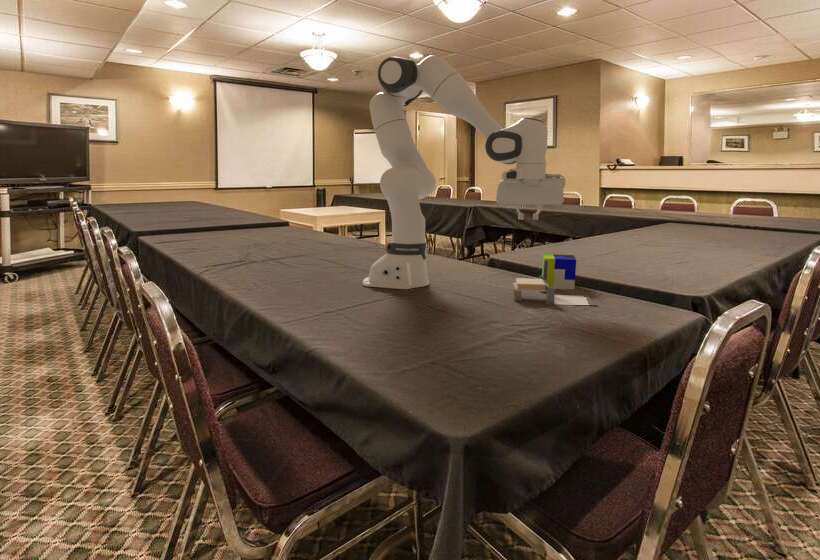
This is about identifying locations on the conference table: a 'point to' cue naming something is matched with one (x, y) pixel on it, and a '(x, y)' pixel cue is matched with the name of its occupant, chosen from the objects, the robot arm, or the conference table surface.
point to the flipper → (543, 279)
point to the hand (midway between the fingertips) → (528, 219)
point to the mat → (570, 300)
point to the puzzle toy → (560, 271)
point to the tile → (530, 283)
